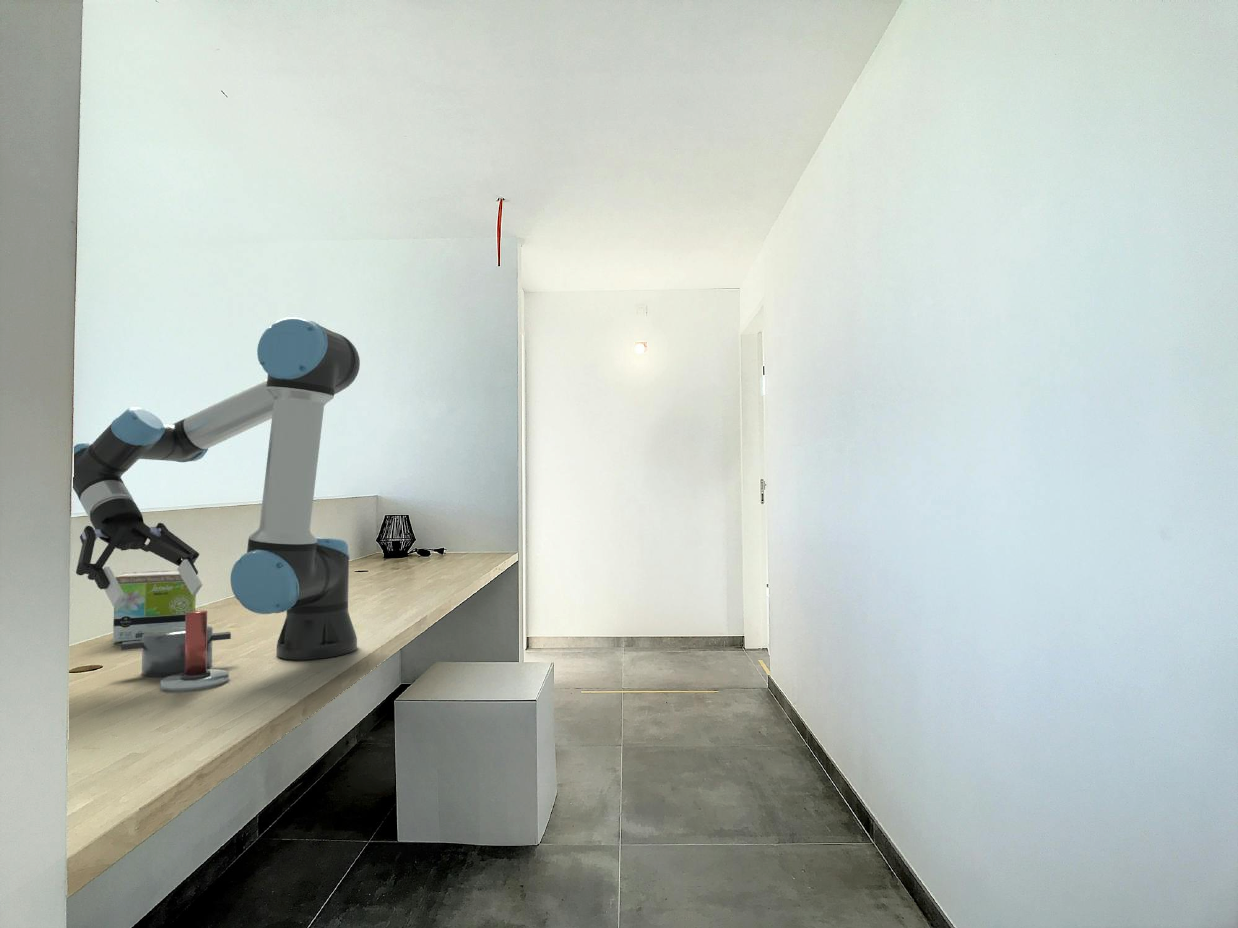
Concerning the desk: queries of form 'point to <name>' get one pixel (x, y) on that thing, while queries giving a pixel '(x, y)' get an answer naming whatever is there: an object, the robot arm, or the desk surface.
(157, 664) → the pot
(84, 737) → the desk surface
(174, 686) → the lid
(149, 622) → the tea box
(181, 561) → the robot arm
